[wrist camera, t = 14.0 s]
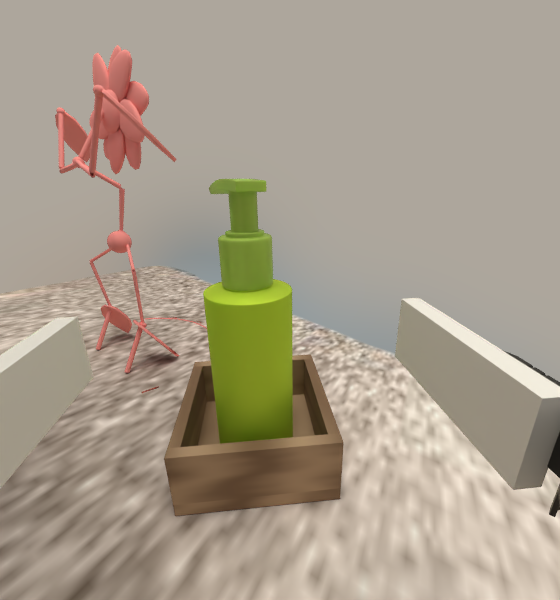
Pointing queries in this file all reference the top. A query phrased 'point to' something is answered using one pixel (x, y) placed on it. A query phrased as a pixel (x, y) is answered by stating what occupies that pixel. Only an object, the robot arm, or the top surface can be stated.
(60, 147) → the figurine
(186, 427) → the walnut caddy
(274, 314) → the soap dispenser
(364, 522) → the top surface
